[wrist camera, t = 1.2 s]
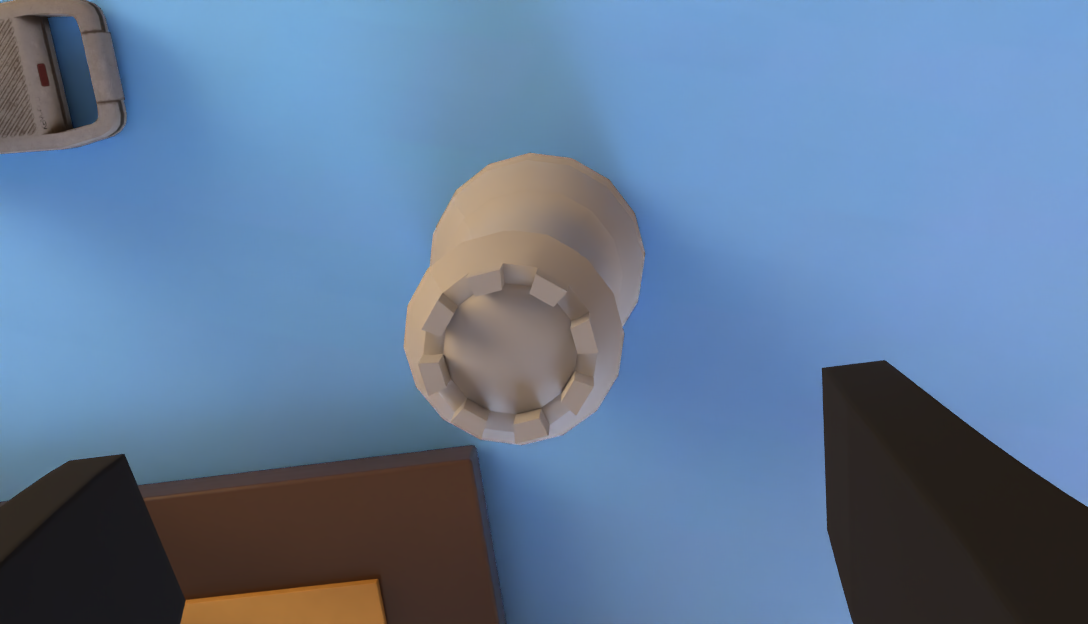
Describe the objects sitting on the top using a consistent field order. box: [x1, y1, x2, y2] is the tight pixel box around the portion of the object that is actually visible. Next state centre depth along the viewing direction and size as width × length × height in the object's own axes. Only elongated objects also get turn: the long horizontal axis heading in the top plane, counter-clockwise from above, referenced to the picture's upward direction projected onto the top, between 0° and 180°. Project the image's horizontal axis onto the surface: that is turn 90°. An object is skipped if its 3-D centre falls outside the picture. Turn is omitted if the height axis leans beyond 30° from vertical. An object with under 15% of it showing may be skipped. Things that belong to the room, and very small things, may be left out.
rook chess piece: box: [404, 153, 645, 445], centre depth 18 cm, size 4×4×8 cm
